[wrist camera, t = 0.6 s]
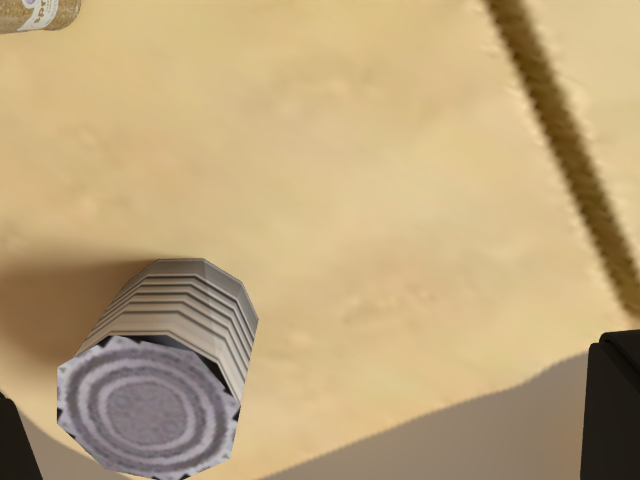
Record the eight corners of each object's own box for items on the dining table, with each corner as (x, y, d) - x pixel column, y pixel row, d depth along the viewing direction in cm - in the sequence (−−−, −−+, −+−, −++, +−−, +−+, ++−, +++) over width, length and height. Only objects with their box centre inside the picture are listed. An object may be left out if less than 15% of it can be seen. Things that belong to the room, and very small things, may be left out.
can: (288, 332, 46) (276, 436, 35) (183, 401, 49) (141, 517, 38) (193, 226, 43) (147, 304, 32) (86, 306, 46) (9, 404, 35)
